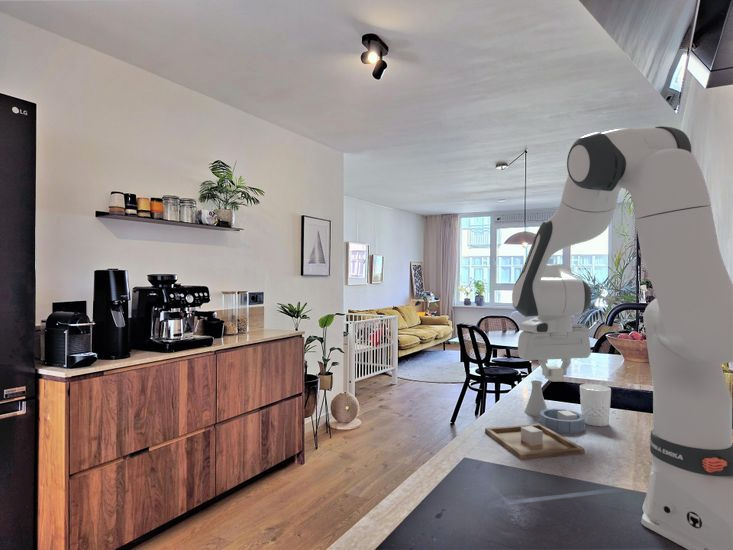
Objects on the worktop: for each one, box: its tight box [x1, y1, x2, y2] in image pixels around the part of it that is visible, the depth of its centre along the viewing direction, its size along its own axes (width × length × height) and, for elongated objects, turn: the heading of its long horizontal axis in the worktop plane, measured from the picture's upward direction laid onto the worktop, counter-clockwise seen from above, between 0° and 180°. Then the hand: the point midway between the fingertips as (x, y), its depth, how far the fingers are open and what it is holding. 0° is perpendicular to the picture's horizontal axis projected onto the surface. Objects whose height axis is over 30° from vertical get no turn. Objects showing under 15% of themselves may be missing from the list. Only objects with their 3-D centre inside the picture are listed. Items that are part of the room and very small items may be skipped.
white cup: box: [579, 383, 612, 427], centre depth 130 cm, size 8×8×10 cm
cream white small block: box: [521, 426, 543, 446], centre depth 113 cm, size 4×3×3 cm
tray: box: [484, 423, 586, 461], centre depth 114 cm, size 18×16×2 cm
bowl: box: [539, 408, 585, 434], centre depth 125 cm, size 11×11×4 cm
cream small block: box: [544, 365, 565, 382], centre depth 125 cm, size 4×3×3 cm
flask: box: [524, 379, 548, 417], centre depth 137 cm, size 7×7×10 cm
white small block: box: [557, 409, 577, 420], centre depth 126 cm, size 4×3×3 cm
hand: (554, 375), depth 125 cm, fingers closed on cream small block, 3 cm apart
